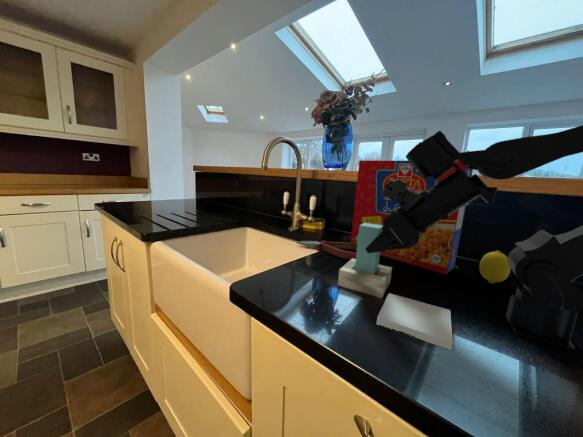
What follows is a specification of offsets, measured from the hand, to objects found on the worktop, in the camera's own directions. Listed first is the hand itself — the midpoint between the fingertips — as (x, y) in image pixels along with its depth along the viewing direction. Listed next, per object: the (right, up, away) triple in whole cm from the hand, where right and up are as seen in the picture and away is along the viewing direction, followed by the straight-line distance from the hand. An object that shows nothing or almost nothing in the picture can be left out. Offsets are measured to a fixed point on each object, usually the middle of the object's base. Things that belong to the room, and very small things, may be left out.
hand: (372, 245), depth 51 cm
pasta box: (+15, -6, +23) cm, 28 cm away
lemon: (+30, -10, +6) cm, 32 cm away
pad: (+3, -11, -11) cm, 16 cm away
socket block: (-1, -8, +2) cm, 9 cm away
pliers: (-4, -5, +26) cm, 27 cm away
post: (-1, -8, +2) cm, 9 cm away
